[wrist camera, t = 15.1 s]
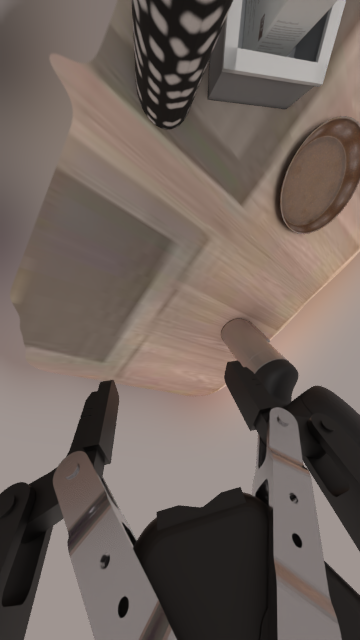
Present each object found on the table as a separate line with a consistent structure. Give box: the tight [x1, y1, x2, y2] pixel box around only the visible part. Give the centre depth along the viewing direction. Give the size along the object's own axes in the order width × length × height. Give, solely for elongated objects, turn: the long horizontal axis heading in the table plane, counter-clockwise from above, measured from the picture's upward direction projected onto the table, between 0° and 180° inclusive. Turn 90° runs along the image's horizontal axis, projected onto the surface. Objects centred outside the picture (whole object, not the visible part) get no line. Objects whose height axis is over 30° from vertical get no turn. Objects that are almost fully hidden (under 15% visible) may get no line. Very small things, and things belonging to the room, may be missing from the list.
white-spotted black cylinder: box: [132, 0, 233, 129], centre depth 15 cm, size 8×8×20 cm
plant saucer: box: [280, 116, 360, 234], centre depth 33 cm, size 18×18×3 cm
